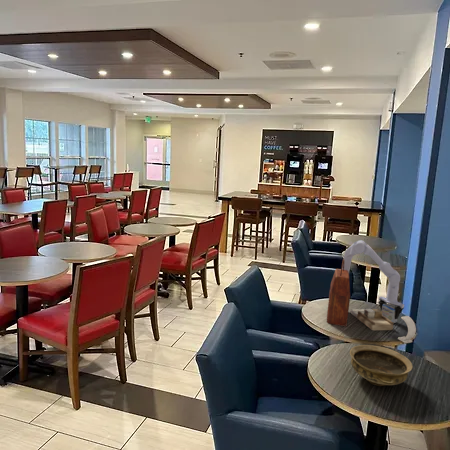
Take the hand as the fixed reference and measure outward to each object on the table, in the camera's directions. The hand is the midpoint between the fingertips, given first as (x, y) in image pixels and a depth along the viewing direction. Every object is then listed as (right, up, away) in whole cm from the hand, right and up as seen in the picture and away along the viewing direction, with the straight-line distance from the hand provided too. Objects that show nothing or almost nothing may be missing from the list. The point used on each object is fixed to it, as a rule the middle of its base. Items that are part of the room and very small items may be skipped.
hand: (389, 316), depth 232 cm
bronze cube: (-9, 0, -4) cm, 10 cm away
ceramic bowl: (-32, -12, -66) cm, 74 cm away
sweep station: (-12, -2, -3) cm, 12 cm away
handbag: (-31, -1, -3) cm, 31 cm away
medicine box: (0, -3, 0) cm, 3 cm away
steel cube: (-14, +1, -5) cm, 15 cm away
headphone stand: (-2, -7, -26) cm, 27 cm away
